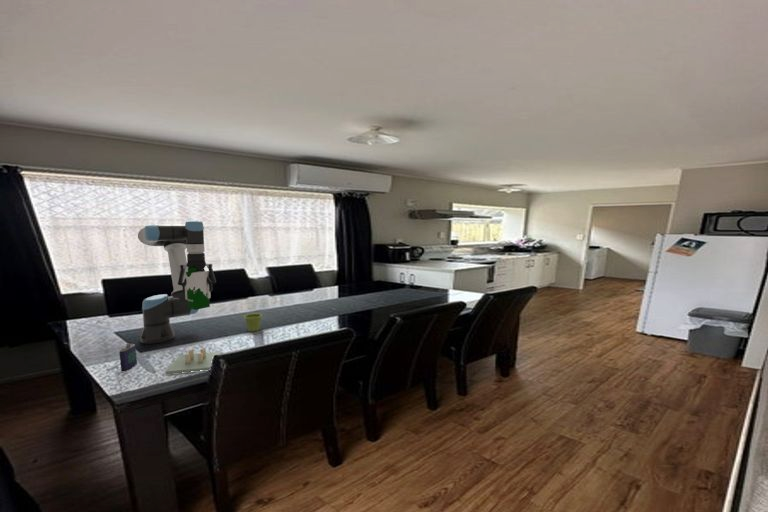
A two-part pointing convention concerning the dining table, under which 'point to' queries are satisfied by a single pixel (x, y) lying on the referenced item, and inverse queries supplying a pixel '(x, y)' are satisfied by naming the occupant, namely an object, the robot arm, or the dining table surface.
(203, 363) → the peg stand
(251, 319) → the plant pot
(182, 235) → the robot arm
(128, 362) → the flask
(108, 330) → the dining table surface
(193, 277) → the soya milk
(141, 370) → the dining table surface
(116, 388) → the dining table surface
